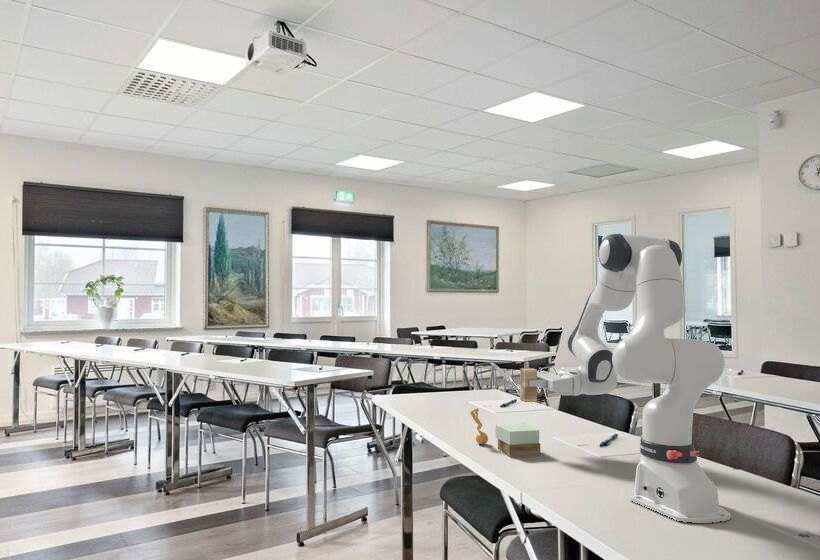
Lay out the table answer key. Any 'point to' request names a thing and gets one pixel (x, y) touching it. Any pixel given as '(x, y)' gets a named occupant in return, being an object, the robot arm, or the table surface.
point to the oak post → (528, 391)
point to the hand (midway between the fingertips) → (525, 381)
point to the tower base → (519, 449)
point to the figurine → (481, 436)
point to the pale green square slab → (517, 434)
